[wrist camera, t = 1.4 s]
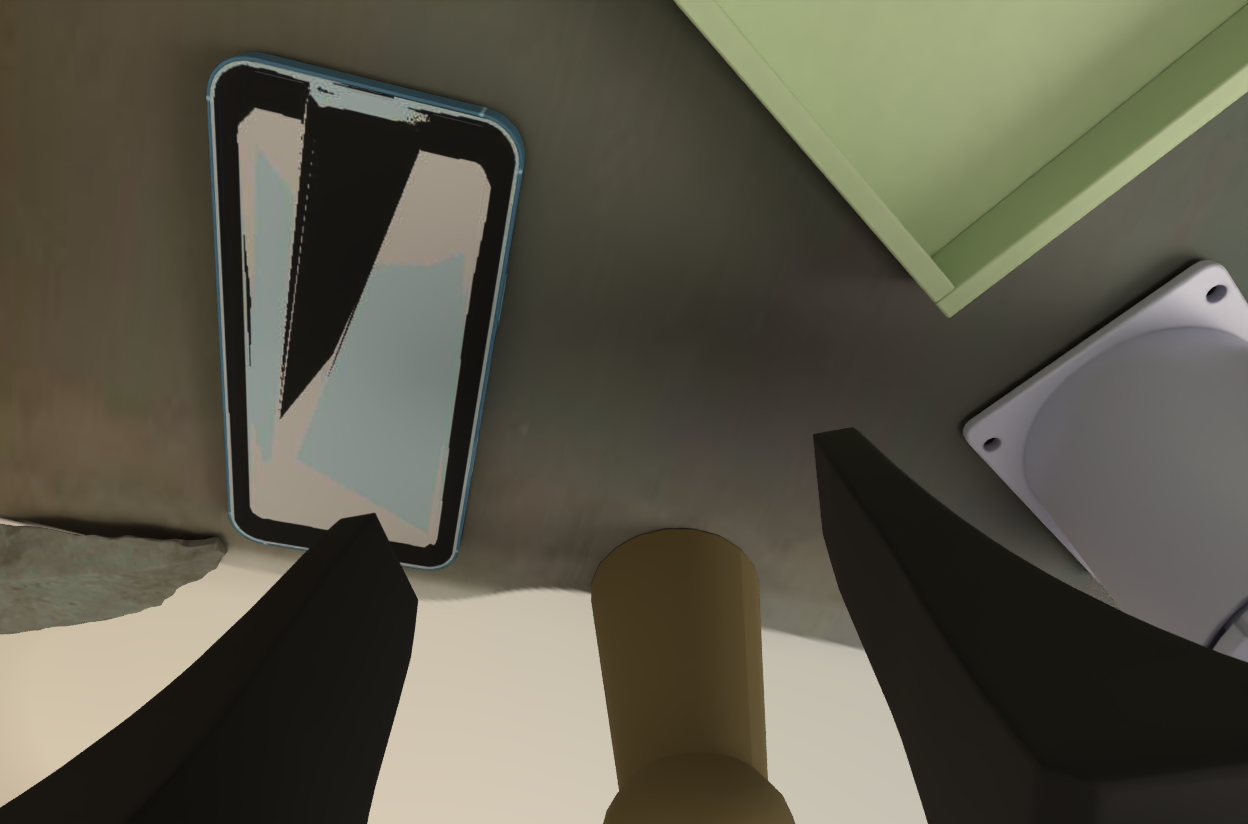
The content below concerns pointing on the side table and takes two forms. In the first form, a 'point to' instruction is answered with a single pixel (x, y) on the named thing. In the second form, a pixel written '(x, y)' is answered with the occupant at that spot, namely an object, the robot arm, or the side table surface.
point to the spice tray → (981, 110)
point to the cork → (684, 682)
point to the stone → (91, 575)
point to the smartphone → (355, 298)
